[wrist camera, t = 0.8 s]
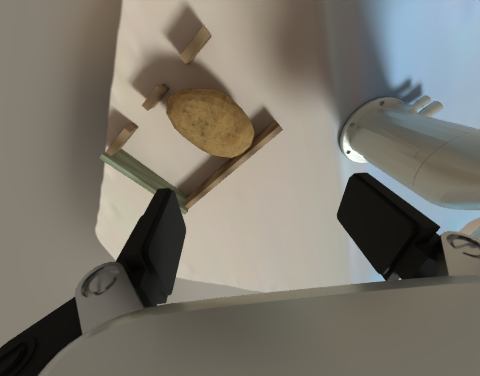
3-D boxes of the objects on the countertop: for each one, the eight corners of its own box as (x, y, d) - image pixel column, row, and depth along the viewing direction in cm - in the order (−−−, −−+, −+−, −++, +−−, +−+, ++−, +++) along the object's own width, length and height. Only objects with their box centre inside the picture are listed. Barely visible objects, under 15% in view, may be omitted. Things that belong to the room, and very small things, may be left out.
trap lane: (206, 29, 26) (203, 23, 22) (278, 124, 34) (284, 131, 30) (113, 148, 34) (99, 158, 31) (188, 201, 43) (184, 214, 39)
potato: (184, 66, 28) (172, 66, 22) (260, 111, 33) (269, 122, 26) (166, 123, 33) (151, 137, 26) (235, 156, 37) (237, 175, 30)
